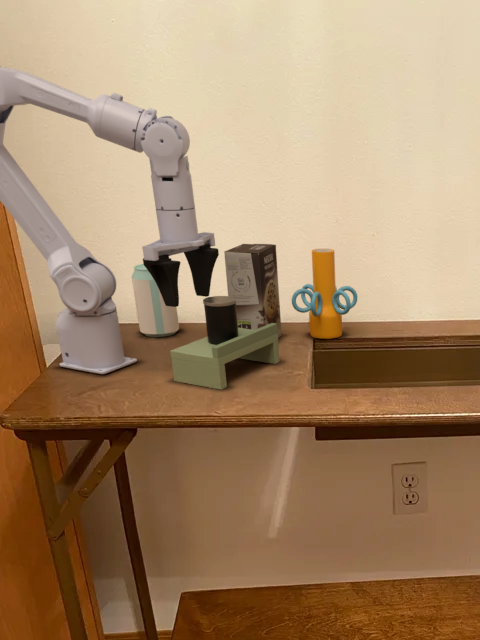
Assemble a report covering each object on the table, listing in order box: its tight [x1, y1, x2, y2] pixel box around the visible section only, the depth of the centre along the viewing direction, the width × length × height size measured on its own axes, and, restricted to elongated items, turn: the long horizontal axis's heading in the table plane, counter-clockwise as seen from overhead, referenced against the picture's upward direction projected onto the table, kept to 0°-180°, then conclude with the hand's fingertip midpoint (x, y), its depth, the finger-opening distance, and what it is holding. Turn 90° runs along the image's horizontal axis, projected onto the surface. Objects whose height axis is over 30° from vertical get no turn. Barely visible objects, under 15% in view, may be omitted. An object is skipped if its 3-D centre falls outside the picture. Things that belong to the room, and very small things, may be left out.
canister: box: [202, 295, 239, 345], centre depth 124 cm, size 5×5×6 cm
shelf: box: [169, 323, 281, 390], centre depth 127 cm, size 9×16×6 cm, turn 155°
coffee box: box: [223, 243, 283, 339], centre depth 140 cm, size 9×6×16 cm
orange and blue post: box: [291, 248, 358, 340], centre depth 144 cm, size 12×10×15 cm
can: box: [131, 263, 180, 338], centre depth 145 cm, size 7×7×12 cm
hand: (187, 300), depth 126 cm, fingers open, 7 cm apart
